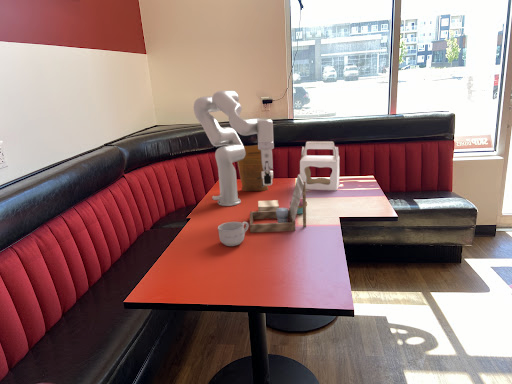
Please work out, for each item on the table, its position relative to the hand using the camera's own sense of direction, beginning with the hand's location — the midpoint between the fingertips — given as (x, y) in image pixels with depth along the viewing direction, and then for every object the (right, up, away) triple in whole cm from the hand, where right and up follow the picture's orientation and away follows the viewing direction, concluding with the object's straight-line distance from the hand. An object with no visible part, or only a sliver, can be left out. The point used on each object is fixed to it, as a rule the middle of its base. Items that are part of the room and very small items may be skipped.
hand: (267, 181), depth 189 cm
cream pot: (0, -1, 0) cm, 1 cm away
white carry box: (+33, -2, +47) cm, 57 cm away
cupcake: (+16, -15, +4) cm, 22 cm away
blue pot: (+7, -19, -10) cm, 23 cm away
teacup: (-14, -26, -29) cm, 41 cm away
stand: (+1, -16, +5) cm, 16 cm away
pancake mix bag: (-6, -4, +46) cm, 47 cm away
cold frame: (+4, -20, -11) cm, 23 cm away
